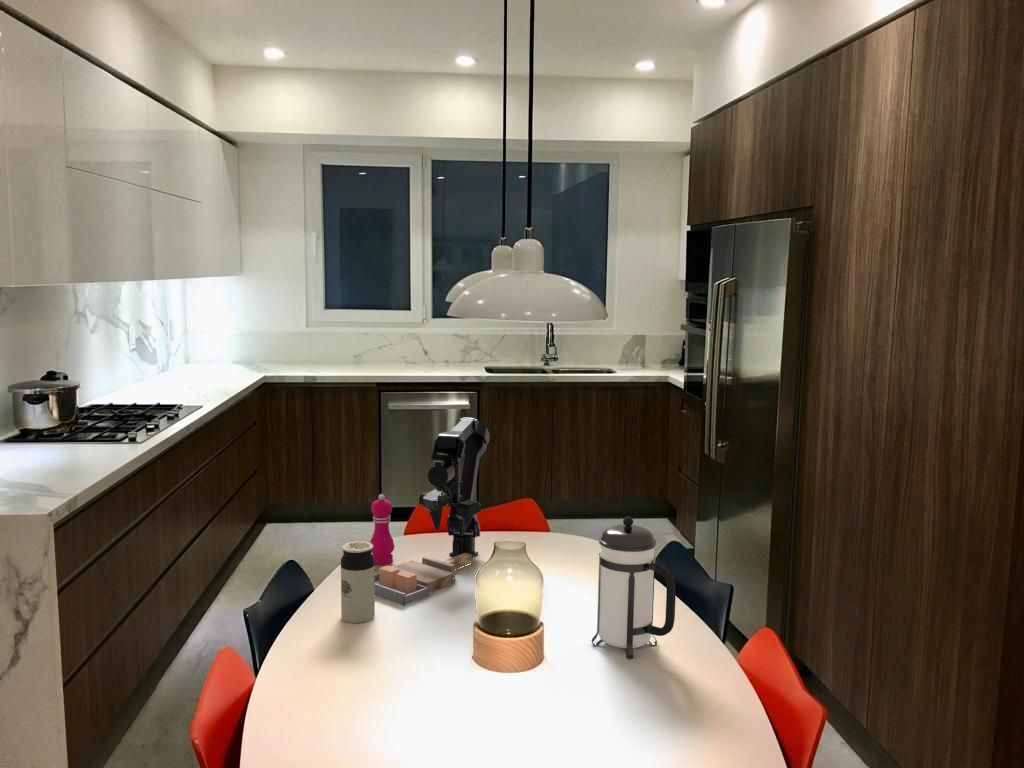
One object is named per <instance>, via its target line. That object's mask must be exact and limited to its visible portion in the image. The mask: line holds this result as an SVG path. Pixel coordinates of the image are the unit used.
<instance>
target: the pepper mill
mask: <svg viewBox="0 0 1024 768" xmlns="http://www.w3.org/2000/svg"><path fill="white" fill-rule="evenodd" d="M370 511H371V513H372V514H373V516H372V522H373V523H374V531H373V534H372V536H371V539H370V541H369V543H371V544H372V545H373V548H372V552H371V553H372V555H373V557H374V565H376V564H377V566H383V565H384V566H386V565H390V564H392V563H393V560H394V555H393V554H392V553H393V552H394V551H395V542H394V539H393V537H392V535H391V533H390V525H389V524H390V522H391V513H392V512H393V506H392V502H391V501H389V500H388V499H386V496H385V494H383V493H380V494H379V495H378V499H376V500H374V501H373V502H372V503H371V508H370Z"/></svg>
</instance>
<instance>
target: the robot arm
mask: <svg viewBox="0 0 1024 768" xmlns="http://www.w3.org/2000/svg"><path fill="white" fill-rule="evenodd" d="M490 436H491V435H490V432H489V430H488V427H487V426H485V425H484V424H482V423H481V422H479V420H478V418H475V417H465V416H463V417H461V418H460V419H459V422H458V423H457V424H456V425H454V427H453V428H452V429H451V430H450V431H449V430H448V431H443V432H440V433H439V434H438V435H437V437H436V438H435V440H434V444H433V450H432V453H431V454H432V455H431V458H430V459H431V461H434V465H433V466H432V467H431V468H430V469H429V470H428V473H427V479H428V482H429V483H430V484H431V485H432V486H433V487H435V488H434V489H433V490H431V491H428V492H425V493H420V495H419V498H418V504H419V505H422V506H421V507H422V508H424V509H425V510H426V511H428V514H429V515H430V517H431V520H432V521H431V522H432V524H433V526H434V529H435V530H436V531H438V530H440V527H441V523H442V516H443V514H442V513H443V507H450V509H449V511H450V512H449V515H448V516H447V519H446V526H447V528H446V529H447V533H448V534H447V536H452V551H451V552H449V553H448V554H449V556H452V557H455V556H458V555H461V554H463V553H469V554H472V557H474V556H473V555H475V556H477V555H476V554H478V553H479V552H478V551H475V549H476V538H477V537H480V536H481V525H480V523H479V520H478V518H477V516H478V513H480V512H481V511H482V506H481V503H480V502H479V501H477V500H474V499H475V498H474V497H475V492H476V491H475V490H476V484H477V479H478V471H479V464H480V458H481V457H482V456H483V455H484V453H486V451H487V448H488V444H489V443H490ZM463 457H464V458H463ZM461 459H464V460H463V464H462V470H461ZM478 555H479V554H478Z"/></svg>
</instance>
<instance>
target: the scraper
mask: <svg viewBox="0 0 1024 768" xmlns="http://www.w3.org/2000/svg"><path fill="white" fill-rule="evenodd" d="M421 563H422V564H425V565H428V566H431V567H435V568H438V569H441V570H444V571H448V572H451V573H453V578H455V579H456V570H455V569H458V568H460V567H462V566H465V565H467V564H470V563H472V564H473V556H472V554H469V553H463V554H461V555H458V556H452V557H450V558H448V559H444V560H440V559H436V558H434V557H430V556H423V557H422V558H421ZM458 570H459V569H458Z"/></svg>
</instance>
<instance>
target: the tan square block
mask: <svg viewBox="0 0 1024 768" xmlns="http://www.w3.org/2000/svg"><path fill="white" fill-rule="evenodd" d="M378 573H379V584H380V585H382V586H385V587H388V588H394V587H396V574H397V573H399V569H398V568H394V566H391V565H389V564H386V565H384V566H382V567H379V570H378Z"/></svg>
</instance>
